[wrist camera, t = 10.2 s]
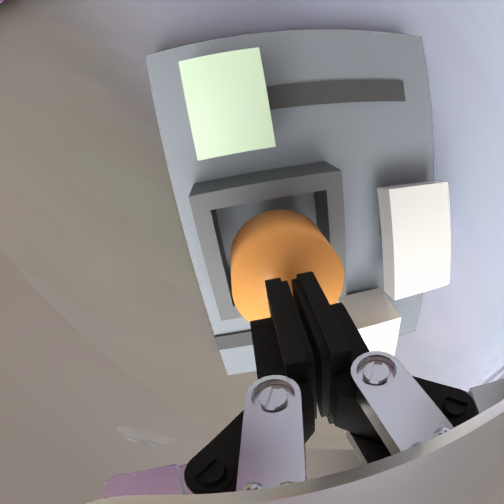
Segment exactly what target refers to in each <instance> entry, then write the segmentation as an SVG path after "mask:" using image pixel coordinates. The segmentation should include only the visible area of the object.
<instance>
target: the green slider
mask: <svg viewBox="0 0 504 504" xmlns="http://www.w3.org/2000/svg"><path fill="white" fill-rule="evenodd" d="M178 63H179V68H180V74H181V79H182V84H183V90H184V95H185V100H186V105H187V110H188V115H189V121H190V126H191V130H192V135H193V140H194V145H195V150H196V155H197V159H198V161H199V160H204V159H209V158H214V157H219V156H224V155H229V154H235V153H240V152H246V151H252V150H258V149H264V148H270V147H276V145H275V138H274V132H273V125H272V119H271V113H270V107H269V101H268V95H267V89H266V83H265V78H264V72H263V66H262V61H261V56H260V50H259V47H257V48H249V49H241V50H235V51H228V52H222V53H217V54H211V55H206V56H201V57H196V58H192V59H187V60H183V61H179V62H178Z"/></svg>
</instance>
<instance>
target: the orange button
mask: <svg viewBox="0 0 504 504" xmlns="http://www.w3.org/2000/svg"><path fill="white" fill-rule="evenodd" d="M230 265H231V285H232V296H233V300H234V304H235V306H236V308H237V310H238V311H239V313H240V314H241V315H242V316H243V317H244V318H245V319H246V320H247V321H248V322H250V321H253V320H259V319H264V318H269V317H271V316H270V310H269V304H268V298H267V292H266V287H265V280H269V279H274V278H279V277H280V278H281V281H286V280H287V282H288V284H289V287H290V290H291V292H292V295H293V291H292V283H291V280H292V279H296V275H297V274H300V273H305V272H310V271H312V272H313V273H314V275H315V277H316V279H317V281H318V283H319V284H320V286H321V288H322V290H323V292H324V294H325V296H326V298H327V300H328V302H329V304H330V305H331V304H335V303H336V302H337V301H338V299H339V297H340V295H341V292H342V290H343V285H344V269H343V265H342V262H341V260H340V258H339V256H338V255H337V253H336V252H335V250H334V249H333V248H332V246H331V245H330V244H329V242H328V241H327V239H326V238H325V237H324V235H323V234H322V233H321V231H320V230H319V229H318V227H317V226H316V225H315V224H314V222H313V221H311V220H310V219H309V218H308V217H306V216H305V215H303V214H301V213H298V212H295V211H292V210H286V209H276V210H270V211H266V212H263V213H260V214H258V215H256V216H254V217H253V218H251V219H250V220H248V221H247V222H246V223H245V224H244V225H243V226H242V227H241V228H240V229H239V230H238V232H237V234H236V235H235V237H234V239H233V242H232V245H231V250H230Z"/></svg>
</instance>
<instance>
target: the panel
mask: <svg viewBox="0 0 504 504" xmlns="http://www.w3.org/2000/svg"><path fill="white" fill-rule="evenodd" d="M257 47H259V50H260V56H261V61H262V66H263V72H264V78H265V83H266V89H267V95H268V101H269V107H270V113H271V119H272V125H273V132H274V138H275V145H276V147H270V148H264V149H258V150H252V151H246V152H240V153H235V154H229V155H224V156H219V157H214V158H209V159H204V160H199V161H198V159H197V155H196V150H195V145H194V140H193V135H192V130H191V126H190V121H189V115H188V110H187V105H186V100H185V95H184V90H183V84H182V79H181V74H180V68H179V63H178V62H179V61H183V60H187V59H192V58H196V57H201V56H206V55H211V54H217V53H222V52H228V51H235V50H241V49H249V48H257ZM145 57H146V63H147V69H148V75H149V80H150V86H151V91H152V96H153V101H154V106H155V111H156V116H157V121H158V126H159V130H160V135H161V140H162V144H163V149H164V153H165V157H166V162H167V166H168V170H169V175H170V179H171V183H172V187H173V191H174V195H175V199H176V203H177V207H178V211H179V215H180V218H181V222H182V226H183V230H184V234H185V237H186V241H187V245H188V248H189V252H190V255H191V259H192V262H193V266H194V269H195V273H196V276H197V280H198V283H199V286H200V290H201V293H202V296H203V300H204V303H205V306H206V309H207V313H208V316H209V319H210V322H211V325H212V329H213V332H214V335H215V340H216V343H217V346H218V349H219V350H220V353H221V356H222V359H223V362H224V365H225V368H226V371H227V374H228V375H232V374H239V373H245V372H251V371H257V370H256V363H255V355H254V348H253V341H252V334H251V327H250V322H248V321H247V320H246V319H245V318H244V317H243V316H242V315H241V314H240V313H239V311H238V310H237V308H236V306H235V304H234V300H233V296H232V285H231V265H230V250H231V245H232V242H233V239H234V237H235V235H236V234H237V232H238V230H239V229H240V228H241V227H242V226H243V225H244V224H245V223H246V222H247V221H248V220H250V219H251V218H253V217H254V216H256V215H258V214H260V213H263V212H266V211H270V210H276V209H286V210H292V211H295V212H298V213H301V214H303V215H305V216H306V217H308V218H309V219H310V220H311V221H313V222H314V224H315V225H316V226H317V227H318V229H319V230H320V231H321V233H322V234H323V235H324V237H325V238H326V239H327V241H328V242H329V244H330V245H331V246H332V248H333V249H334V250H335V252H336V253H337V255H338V256H339V258H340V260H341V262H342V265H343V269H344V285H343V290H342V292H341V295H340V297H345V296H346V295H351V294H355V293H359V292H363V291H368V290H372V289H376V288H380V289H381V291H382V292H383V293H384V295H385V296H386V297H387V299H388V300H389V301H390V303H391V304H392V305H393V307H394V308H395V309H396V311H397V312H398V313H399V315H400V316H401V322H400V328H399V333H398V336H402V335H405V334H408V333H411V332H414V331H416V327H417V322H418V317H419V312H420V307H421V301H422V296H423V293H419V294H416V295H413V296H409V297H406V298H402V299H398V300H393V299H392V298H391V297H390V296H389V295H388V294H387V293H385V292H384V271H383V250H382V235H381V222H380V211H379V202H378V193H377V188H379V187H386V186H394V185H402V184H410V183H418V182H427V181H434V149H433V125H432V110H431V99H430V89H429V81H428V73H427V66H426V60H425V54H424V48H423V43H422V37H420V36H414V35H407V34H399V33H390V32H380V31H367V30H348V29H306V30H286V31H273V32H262V33H253V34H245V35H238V36H231V37H225V38H219V39H213V40H208V41H203V42H198V43H193V44H189V45H184V46H180V47H176V48H172V49H168V50H164V51H160V52H157V53H153V54H150V55H146V56H145ZM340 297H339V298H340Z"/></svg>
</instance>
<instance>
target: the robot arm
mask: <svg viewBox="0 0 504 504" xmlns="http://www.w3.org/2000/svg"><path fill="white" fill-rule="evenodd" d="M291 283H292V291H293V295H292V292H291V290H290V287H289V284H288V282H287V280H286V281H281V278H280V277H279V278H274V279H269V280H265V287H266V292H267V298H268V304H269V310H270V316H271V317H269V318H264V319H259V320H253V321H250V327H251V334H252V341H253V348H254V355H255V363H256V370H257V377H258V380H257V381H255V382H254V383H253V384H251V386H250V387H249V388H248V390H247V392H246V396H245V403H244V410H243V411H242V412H241V413H240V414H239V415H238V416H237V417H236V418H235V419H234V420H233V421H232V422H231V423H230V424H229V425H228V426H227V427H226V428H225V429H224V430H223V431H222V432H221V433H219V434H218V435H217V436H216V437H215V438H214V439H213V440H212V441H211V442H210V443H209V444H208V445H207V446H205V448H203V449H202V450H201V451H200V452H199V453H198V454H197V455H195V456H194V457H193V458H192V459H191V460H190V462H189V463H188V464H185V465H180V466H178V465H177V464H173V465H168V466H163V467H158V468H153V469H148V470H143V471H137V472H131V473H125V474H118V475H115V476H112V477H111V478H110V479H108V480H107V481H106V483H105V485H104V487H103V492H102V496H103V499H100V500H96V501H93V502H90V503H86V504H504V379H501V380H498V381H494V382H491V383H487V384H484V385H480V386H477V387H473V388H470V390H469V392H465V391H463V390H460V389H457V388H453V387H449V386H446V385H442V384H438V383H435V382H431V381H428V380H424V379H421V378H417V377H414V376H412V375H411V374H410V373H409V372H408V371H407V370H406V368H405V367H404V366H403V365H402V364H401V363H400V361H399V360H398V359H397V358H396V357H394V356H393V355H391V354H389V353H387V352H382V351H369V349H368V347H367V346H366V344H365V342H364V340H363V338H362V336H361V335H360V333H359V331H358V329H357V327H356V326H355V324H354V322H353V320H352V318H351V317H350V315H349V313H348V311H347V310H346V308H345V306H344V305H343V303H341V302H340V303H335V304H331V305H330V304H329V302H328V300H327V298H326V296H325V294H324V292H323V290H322V288H321V286H320V284H319V283H318V281H317V279H316V277H315V275H314V273H313V272H312V271H310V272H305V273H300V274H297V275H296V279H292V280H291ZM316 402H317V405H318V409H319V412H320V415H321V417H324V416H327V418H328V421H329V424H332V423H334V424H335V426H337V427H339V428H342V429H344V431H345V434H346V437H347V439H348V440H349V442H350V444H351V446H352V448H353V449H354V451H355V453H356V455H357V457H358V458H359V460H360V462H361V464H362V465H363V466H360V467H356V468H353V469H350V470H346V471H343V472H339V473H336V474H332V475H328V476H324V477H320V478H316V479H311V480H307V476H306V454H305V453H306V452H305V443H306V442H307V440H308V439H309V438H310V437H311V435H312V434H313V433H314V431H315V419H316V418H317V405H316Z"/></svg>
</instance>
